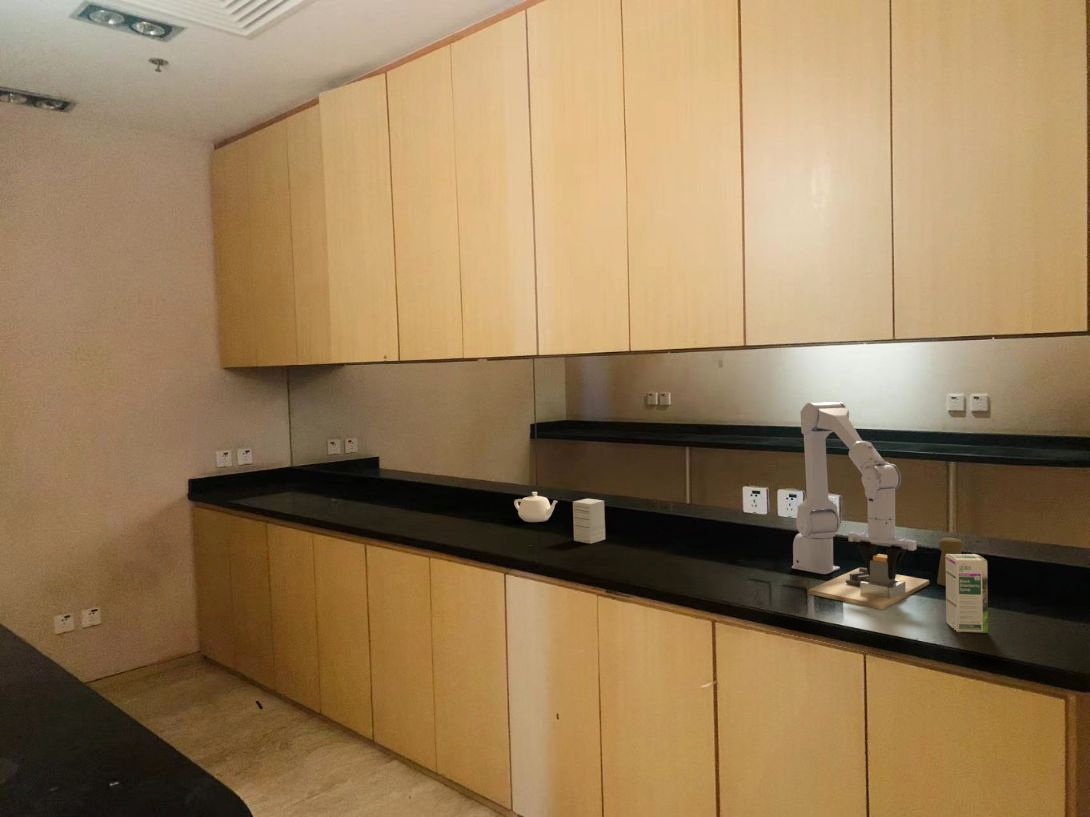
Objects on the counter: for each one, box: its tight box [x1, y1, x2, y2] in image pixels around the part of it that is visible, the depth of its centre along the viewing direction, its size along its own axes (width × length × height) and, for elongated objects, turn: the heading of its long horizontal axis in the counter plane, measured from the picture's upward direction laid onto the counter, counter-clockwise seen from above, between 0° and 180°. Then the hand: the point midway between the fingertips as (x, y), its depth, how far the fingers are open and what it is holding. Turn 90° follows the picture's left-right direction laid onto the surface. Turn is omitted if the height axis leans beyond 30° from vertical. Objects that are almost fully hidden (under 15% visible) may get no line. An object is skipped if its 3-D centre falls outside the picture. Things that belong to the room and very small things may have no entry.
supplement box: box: [572, 498, 606, 544], centre depth 232 cm, size 7×7×13 cm
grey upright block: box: [865, 553, 895, 586], centre depth 168 cm, size 6×4×7 cm
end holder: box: [860, 579, 906, 599], centre depth 167 cm, size 7×8×2 cm
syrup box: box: [945, 553, 989, 634], centre depth 146 cm, size 6×6×14 cm
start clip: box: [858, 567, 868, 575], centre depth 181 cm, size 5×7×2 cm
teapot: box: [513, 491, 558, 523], centre depth 268 cm, size 20×12×10 cm, turn 52°
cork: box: [936, 537, 964, 587], centre depth 175 cm, size 6×6×11 cm
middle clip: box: [850, 572, 870, 582], centre depth 175 cm, size 4×3×2 cm
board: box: [808, 567, 930, 610], centre depth 173 cm, size 17×26×1 cm, turn 132°
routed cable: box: [846, 578, 860, 586], centre depth 174 cm, size 8×8×1 cm
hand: (881, 576), depth 167 cm, fingers closed on grey upright block, 4 cm apart
